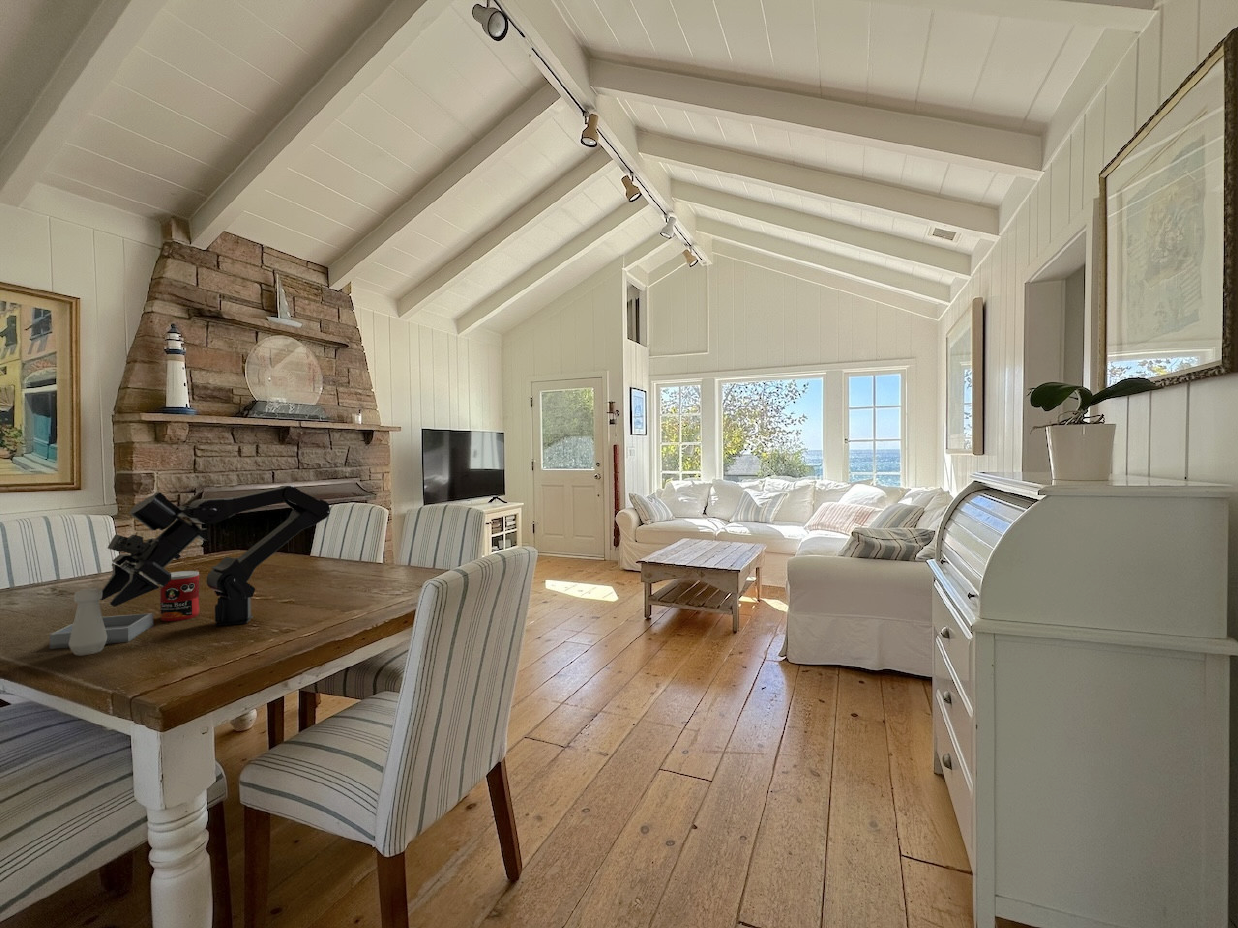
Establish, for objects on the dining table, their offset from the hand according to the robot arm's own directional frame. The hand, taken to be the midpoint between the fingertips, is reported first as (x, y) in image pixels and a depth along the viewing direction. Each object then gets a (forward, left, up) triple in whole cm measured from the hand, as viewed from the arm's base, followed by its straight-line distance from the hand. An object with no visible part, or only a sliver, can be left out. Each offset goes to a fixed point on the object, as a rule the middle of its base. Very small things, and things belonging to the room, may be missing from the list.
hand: (105, 602), depth 118 cm
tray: (+4, -10, -10) cm, 15 cm away
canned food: (-6, -23, -10) cm, 26 cm away
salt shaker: (+2, +2, -10) cm, 10 cm away
